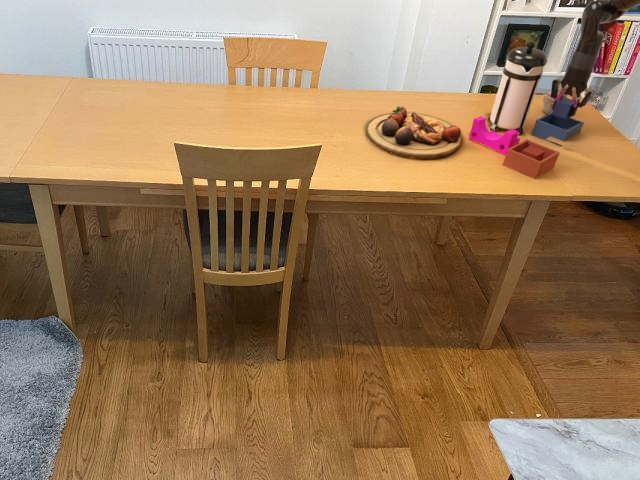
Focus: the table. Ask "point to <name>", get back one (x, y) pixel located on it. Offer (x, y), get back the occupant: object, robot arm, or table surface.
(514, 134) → the magenta cradle bracket
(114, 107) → the table surface
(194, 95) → the table surface
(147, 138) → the table surface
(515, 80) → the coffee press
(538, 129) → the blue bin
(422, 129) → the wooden plate
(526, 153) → the red block
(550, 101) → the cupcake
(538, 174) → the red bin
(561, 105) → the blue block
